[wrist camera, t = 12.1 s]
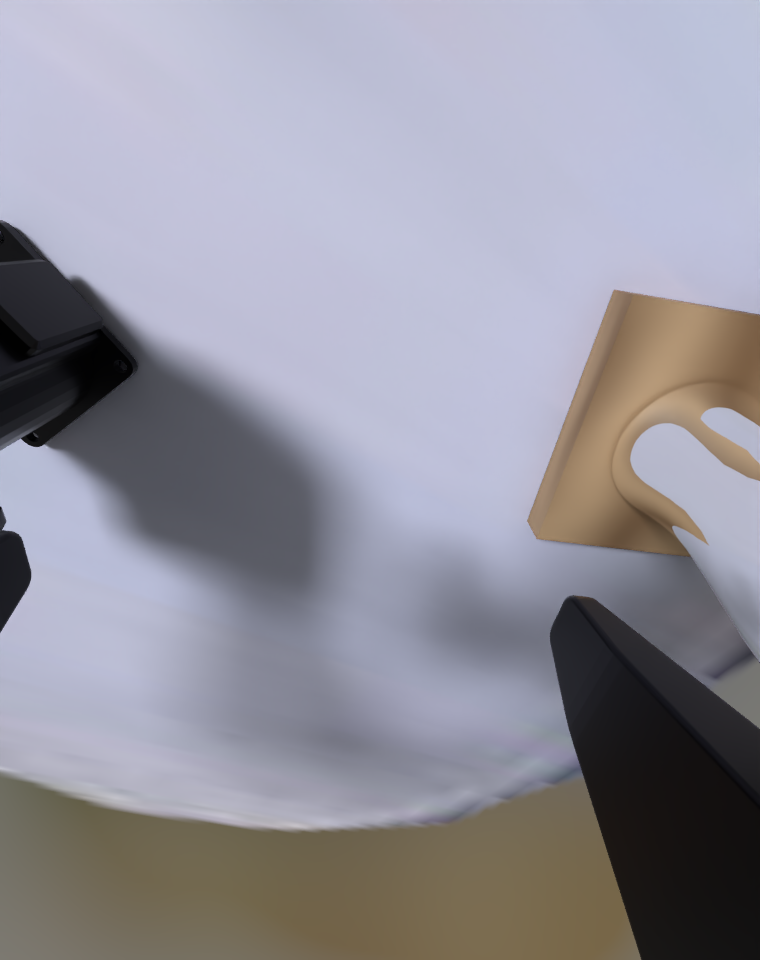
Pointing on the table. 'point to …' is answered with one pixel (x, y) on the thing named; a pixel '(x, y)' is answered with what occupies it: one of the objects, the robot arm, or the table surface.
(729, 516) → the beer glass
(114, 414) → the table surface
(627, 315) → the cleat board
